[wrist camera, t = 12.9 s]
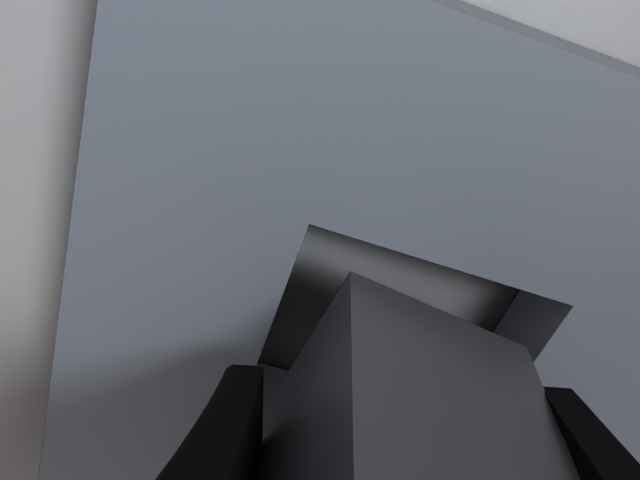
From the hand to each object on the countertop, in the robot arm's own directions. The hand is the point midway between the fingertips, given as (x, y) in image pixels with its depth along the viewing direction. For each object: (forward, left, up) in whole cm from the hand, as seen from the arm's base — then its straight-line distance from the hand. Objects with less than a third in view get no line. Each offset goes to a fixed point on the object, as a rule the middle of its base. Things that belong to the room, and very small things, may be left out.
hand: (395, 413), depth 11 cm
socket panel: (-2, +1, -3) cm, 4 cm away
